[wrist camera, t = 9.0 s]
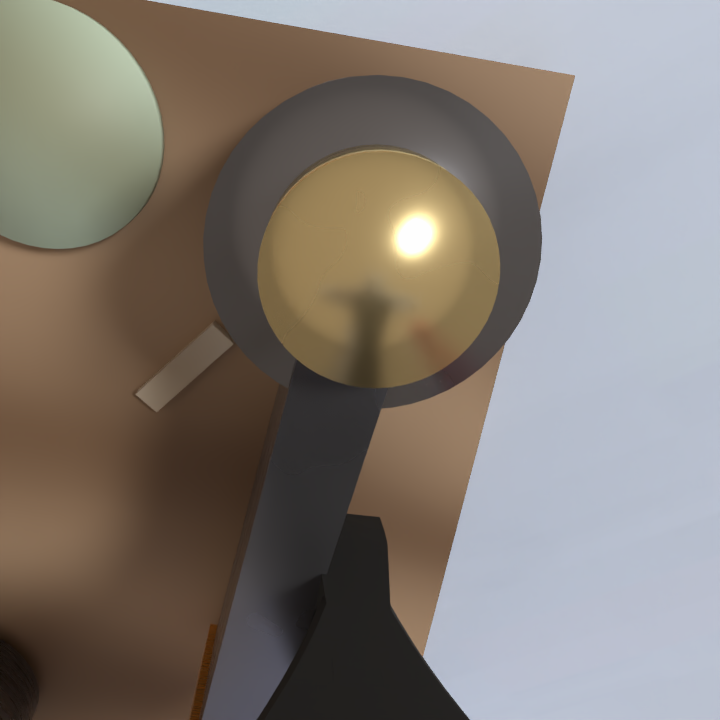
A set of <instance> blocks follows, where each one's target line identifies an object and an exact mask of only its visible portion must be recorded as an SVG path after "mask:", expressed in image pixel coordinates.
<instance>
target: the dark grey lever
mask: <svg viewBox="0 0 720 720" xmlns="http://www.w3.org/2000/svg"><path fill="white" fill-rule="evenodd" d="M541 245H542V232H541V217H540V212H539V207H538V202H537V197H536V193H535V191H534V188H533V185H532V182H531V179H530V176H529V174H528V172H527V170H526V168H525V166H524V164H523V162H522V160H521V158H520V156H519V154H518V153H517V151H516V150H515V148H514V147H513V146H512V144H511V143H510V141H509V140H508V139H507V137H506V136H505V135H504V134H503V132H502V131H501V130H500V129H499V128H498V127H497V126H496V125H495V124H494V123H493V122H492V121H491V120H490V119H489V118H488V117H487V116H486V115H484V114H483V113H482V112H480V111H479V110H478V109H477V108H475V107H474V106H473V105H471V104H470V103H469V102H467V101H465V100H463V99H462V98H460V97H458V96H456V95H455V94H453V93H451V92H449V91H447V90H444V89H442V88H439V87H437V86H434V85H432V84H429V83H426V82H422V81H418V80H414V79H409V78H405V77H397V76H386V75H368V76H353V77H346V78H341V79H336V80H331V81H327V82H324V83H321V84H319V85H316V86H313V87H311V88H309V89H306V90H305V91H303V92H301V93H299V94H297V95H295V96H293V97H291V98H289V99H287V100H286V101H284V102H282V103H281V104H280V105H278V106H277V107H276V108H274V109H273V110H271V111H270V112H269V113H267V114H266V115H265V116H263V117H262V118H261V119H260V120H259V121H258V122H257V123H256V124H255V125H254V126H253V127H252V128H251V129H250V130H249V131H248V132H247V133H246V134H245V136H244V137H243V138H242V139H241V141H240V142H239V143H238V144H237V146H236V147H235V148H234V150H233V151H232V152H231V154H230V156H229V158H228V159H227V161H226V163H225V164H224V166H223V168H222V170H221V171H220V174H219V176H218V179H217V181H216V183H215V186H214V188H213V191H212V193H211V197H210V201H209V205H208V209H207V213H206V218H205V227H204V235H203V251H204V265H205V272H206V278H207V283H208V287H209V290H210V293H211V297H212V300H213V303H214V305H215V307H216V310H217V312H218V314H219V316H220V319H221V321H222V323H223V324H224V326H225V328H226V329H227V331H228V333H229V334H230V336H231V337H232V339H233V340H234V342H235V343H236V344H237V345H238V347H239V348H240V349H241V350H242V352H243V353H244V354H245V355H246V356H247V357H248V358H249V359H250V360H251V361H252V362H253V363H254V364H255V365H256V366H257V367H258V368H259V369H260V370H261V371H263V372H264V373H265V374H267V375H268V376H269V377H271V378H272V379H273V380H275V381H276V382H278V383H279V387H278V391H277V395H276V399H275V403H274V407H273V410H272V414H271V418H270V422H269V426H268V430H267V434H266V438H265V442H264V446H263V450H262V453H261V457H260V461H259V465H258V469H257V473H256V477H255V481H254V485H253V489H252V493H251V496H250V500H249V504H248V508H247V512H246V516H245V520H244V524H243V528H242V532H241V536H240V539H239V543H238V547H237V551H236V555H235V559H234V563H233V567H232V571H231V575H230V579H229V582H228V586H227V590H226V594H225V598H224V602H223V606H222V610H221V614H220V618H219V622H218V625H216V624H210V628H209V632H208V636H207V640H206V644H205V648H204V652H203V656H202V660H201V665H200V669H199V674H198V679H197V683H196V688H195V693H194V698H193V702H192V707H191V712H190V716H189V720H257V718H258V717H259V715H260V714H261V712H262V711H263V709H264V708H265V706H266V705H267V703H268V701H269V700H270V698H271V696H272V695H273V693H274V691H275V690H276V688H277V686H278V685H279V683H280V681H281V680H282V678H283V676H284V675H285V673H286V671H287V669H288V667H289V666H290V664H291V662H292V660H293V658H294V657H295V655H296V653H297V651H298V649H299V647H300V645H301V643H302V641H303V639H304V637H305V635H306V633H307V631H308V629H309V626H310V623H311V620H312V617H313V614H314V611H315V608H316V604H317V598H318V592H319V586H320V581H321V575H322V574H327V572H328V569H329V566H330V563H331V560H332V557H333V554H334V551H335V547H336V544H337V541H338V538H339V535H340V532H341V529H342V526H343V523H344V520H345V517H346V514H347V511H348V508H349V505H350V502H351V499H352V496H353V493H354V490H355V487H356V484H357V481H358V478H359V475H360V472H361V469H362V466H363V463H364V460H365V457H366V454H367V451H368V448H369V445H370V441H371V438H372V435H373V432H374V429H375V426H376V423H377V420H378V417H379V414H380V411H381V409H382V408H393V407H398V406H403V405H409V404H413V403H416V402H419V401H422V400H426V399H429V398H431V397H434V396H436V395H438V394H440V393H443V392H445V391H447V390H449V389H451V388H453V387H454V386H456V385H458V384H459V383H461V382H463V381H464V380H466V379H467V378H469V377H470V376H471V375H473V374H474V373H475V372H477V371H478V370H479V369H481V368H482V367H483V366H484V365H485V364H486V363H487V362H488V361H489V360H490V359H491V358H492V357H493V356H494V355H495V354H496V353H497V352H498V351H499V350H500V349H501V347H502V346H503V345H504V344H505V342H506V341H507V340H508V339H509V338H510V336H511V334H512V333H513V331H514V330H515V328H516V327H517V325H518V323H519V322H520V320H521V318H522V316H523V314H524V312H525V310H526V308H527V306H528V304H529V302H530V299H531V296H532V293H533V290H534V287H535V284H536V281H537V276H538V270H539V265H540V260H541Z"/></svg>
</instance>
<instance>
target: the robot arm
mask: <svg viewBox="0 0 720 720" xmlns="http://www.w3.org/2000/svg"><path fill="white" fill-rule="evenodd" d="M257 720H470V719H469V718H468V717H467V716H466V715H465V713H464V712H463V711H462V710H461V708H460V707H459V706H458V704H457V703H456V702H455V701H454V699H453V698H452V697H451V696H450V694H449V693H448V692H447V690H446V689H445V688H444V686H443V685H442V684H441V682H440V681H439V680H438V678H437V677H436V675H435V674H434V673H433V671H432V670H431V669H430V667H429V666H428V664H427V663H426V661H425V660H424V658H423V657H422V655H421V654H420V652H419V651H418V649H417V648H416V646H415V645H414V643H413V642H412V640H411V638H410V637H409V635H408V633H407V632H406V630H405V628H404V627H403V625H402V624H401V622H400V620H399V619H398V617H397V615H396V613H395V612H394V610H393V608H392V606H391V604H390V584H389V562H388V545H387V539H386V535H385V531H384V528H383V525H382V522H381V519H380V517H375V516H365V515H356V514H346V517H345V520H344V523H343V526H342V529H341V532H340V535H339V538H338V541H337V544H336V547H335V551H334V554H333V557H332V560H331V563H330V566H329V569H328V572H327V574H322V575H321V581H320V586H319V592H318V598H317V604H316V608H315V611H314V614H313V617H312V620H311V623H310V626H309V629H308V631H307V633H306V635H305V637H304V639H303V641H302V643H301V645H300V647H299V649H298V651H297V653H296V655H295V657H294V658H293V660H292V662H291V664H290V666H289V667H288V669H287V671H286V673H285V675H284V676H283V678H282V680H281V681H280V683H279V685H278V686H277V688H276V690H275V691H274V693H273V695H272V696H271V698H270V700H269V701H268V703H267V705H266V706H265V708H264V709H263V711H262V712H261V714H260V715H259V717H258V718H257Z"/></svg>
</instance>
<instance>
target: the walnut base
mask: <svg viewBox="0 0 720 720" xmlns="http://www.w3.org/2000/svg"><path fill="white" fill-rule="evenodd" d="M368 75H386V76H397V77H405V78H409V79H414V80H418V81H422V82H426V83H429V84H432V85H434V86H437V87H439V88H442V89H444V90H447V91H449V92H451V93H453V94H455V95H456V96H458V97H460V98H462V99H463V100H465V101H467V102H469V103H470V104H471V105H473V106H474V107H475V108H477V109H478V110H479V111H480V112H482V113H483V114H484V115H486V116H487V117H488V118H489V119H490V120H491V121H492V122H493V123H494V124H495V125H496V126H497V127H498V128H499V129H500V130H501V131H502V132H503V134H504V135H505V136H506V137H507V139H508V140H509V141H510V143H511V144H512V146H513V147H514V148H515V150H516V151H517V153H518V154H519V156H520V158H521V160H522V162H523V164H524V166H525V168H526V170H527V172H528V174H529V176H530V179H531V182H532V185H533V188H534V191H535V193H536V197H537V202H538V207H539V211H540V208H541V204H542V200H543V196H544V192H545V189H546V185H547V181H548V177H549V173H550V169H551V166H552V162H553V158H554V154H555V150H556V147H557V143H558V139H559V135H560V131H561V127H562V124H563V120H564V116H565V112H566V108H567V105H568V101H569V97H570V93H571V89H572V86H573V82H574V78H575V76H574V75H569V74H563V73H557V72H551V71H546V70H540V69H534V68H529V67H523V66H517V65H512V64H506V63H500V62H494V61H489V60H483V59H477V58H472V57H466V56H460V55H455V54H449V53H443V52H437V51H432V50H426V49H420V48H415V47H409V46H403V45H398V44H392V43H386V42H380V41H375V40H369V39H363V38H358V37H352V36H346V35H340V34H335V33H329V32H323V31H318V30H312V29H306V28H301V27H295V26H289V25H283V24H278V23H272V22H266V21H261V20H255V19H249V18H244V17H238V16H232V15H226V14H221V13H215V12H209V11H204V10H198V9H192V8H187V7H181V6H175V5H169V4H164V3H158V2H152V1H147V0H0V639H2V640H3V641H5V642H6V643H8V644H9V645H10V646H11V647H13V648H14V649H15V650H16V651H17V652H18V653H19V654H20V655H21V656H22V657H23V658H24V659H25V660H26V662H27V663H28V664H29V666H30V667H31V669H32V671H33V673H34V675H35V677H36V680H37V683H38V688H39V702H38V705H37V709H36V711H35V713H34V716H33V718H32V720H189V716H190V712H191V707H192V702H193V698H194V693H195V688H196V683H197V679H198V674H199V669H200V665H201V660H202V656H203V652H204V648H205V644H206V640H207V636H208V632H209V628H210V624H216V625H218V622H219V618H220V614H221V610H222V606H223V602H224V598H225V594H226V590H227V586H228V582H229V579H230V575H231V571H232V567H233V563H234V559H235V555H236V551H237V547H238V543H239V539H240V536H241V532H242V528H243V524H244V520H245V516H246V512H247V508H248V504H249V500H250V496H251V493H252V489H253V485H254V481H255V477H256V473H257V469H258V465H259V461H260V457H261V453H262V450H263V446H264V442H265V438H266V434H267V430H268V426H269V422H270V418H271V414H272V410H273V407H274V403H275V399H276V395H277V391H278V387H279V383H278V382H276V381H275V380H273V379H272V378H271V377H269V376H268V375H267V374H265V373H264V372H263V371H261V370H260V369H259V368H258V367H257V366H256V365H255V364H254V363H253V362H252V361H251V360H250V359H249V358H248V357H247V356H246V355H245V354H244V353H243V352H242V350H241V349H240V348H239V347H238V345H237V344H236V343H235V342H234V340H233V339H232V337H231V336H230V334H229V333H228V331H227V329H226V328H225V326H224V324H223V323H222V321H221V319H220V316H219V314H218V312H217V310H216V307H215V305H214V303H213V300H212V297H211V293H210V290H209V287H208V283H207V278H206V272H205V265H204V251H203V235H204V227H205V218H206V213H207V209H208V205H209V201H210V197H211V193H212V191H213V188H214V186H215V183H216V181H217V179H218V176H219V174H220V171H221V170H222V168H223V166H224V164H225V163H226V161H227V159H228V158H229V156H230V154H231V152H232V151H233V150H234V148H235V147H236V146H237V144H238V143H239V142H240V141H241V139H242V138H243V137H244V136H245V134H246V133H247V132H248V131H249V130H250V129H251V128H252V127H253V126H254V125H255V124H256V123H257V122H258V121H259V120H260V119H261V118H262V117H263V116H265V115H266V114H267V113H269V112H270V111H271V110H273V109H274V108H276V107H277V106H278V105H280V104H281V103H282V102H284V101H286V100H287V99H289V98H291V97H293V96H295V95H297V94H299V93H301V92H303V91H305V90H306V89H309V88H311V87H313V86H316V85H319V84H321V83H324V82H327V81H331V80H336V79H341V78H346V77H353V76H368ZM504 345H505V344H504ZM504 345H503V346H502V347H501V349H500V350H499V351H498V352H497V353H496V354H495V355H494V356H493V357H492V358H491V359H490V360H489V361H488V362H487V363H486V364H485V365H484V366H483V367H482V368H481V369H479V370H478V371H477V372H475V373H474V374H473V375H471V376H470V377H469V378H467V379H466V380H464V381H463V382H461V383H459V384H458V385H456V386H454V387H453V388H451V389H449V390H447V391H445V392H443V393H440V394H438V395H436V396H434V397H431V398H429V399H426V400H422V401H419V402H416V403H413V404H409V405H403V406H398V407H393V408H382V409H381V411H380V414H379V417H378V420H377V423H376V426H375V429H374V432H373V435H372V438H371V441H370V445H369V448H368V451H367V454H366V457H365V460H364V463H363V466H362V469H361V472H360V475H359V478H358V481H357V484H356V487H355V490H354V493H353V496H352V499H351V502H350V505H349V508H348V511H347V514H356V515H365V516H375V517H380V519H381V522H382V525H383V528H384V531H385V535H386V539H387V545H388V562H389V584H390V604H391V606H392V608H393V610H394V612H395V613H396V615H397V617H398V619H399V620H400V622H401V624H402V625H403V627H404V628H405V630H406V632H407V633H408V635H409V637H410V638H411V640H412V642H413V643H414V645H415V646H416V648H417V649H418V651H419V652H420V654H421V655H422V657H423V654H424V650H425V646H426V642H427V639H428V635H429V631H430V627H431V623H432V620H433V616H434V612H435V608H436V604H437V600H438V597H439V593H440V589H441V585H442V581H443V578H444V574H445V570H446V566H447V562H448V559H449V555H450V551H451V547H452V543H453V539H454V536H455V532H456V528H457V524H458V520H459V517H460V513H461V509H462V505H463V501H464V497H465V494H466V490H467V486H468V482H469V478H470V475H471V471H472V467H473V463H474V459H475V456H476V452H477V448H478V444H479V440H480V436H481V433H482V429H483V425H484V421H485V417H486V414H487V410H488V406H489V402H490V398H491V394H492V391H493V387H494V383H495V379H496V375H497V372H498V368H499V364H500V360H501V356H502V353H503V349H504Z"/></svg>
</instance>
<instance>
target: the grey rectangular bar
mask: <svg viewBox="0 0 720 720" xmlns="http://www.w3.org/2000/svg"><path fill="white" fill-rule="evenodd" d="M38 702H39V688H38V683H37V680H36V677H35V675H34V673H33V671H32V669H31V667H30V666H29V664H28V663H27V662H26V660H25V659H24V658H23V657H22V656H21V655H20V654H19V653H18V652H17V651H16V650H15V649H14V648H13V647H11V646H10V645H9V644H8V643H6V642H5V641H3V640H2V639H0V720H32V718H33V716H34V713H35V711H36V709H37V705H38Z"/></svg>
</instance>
